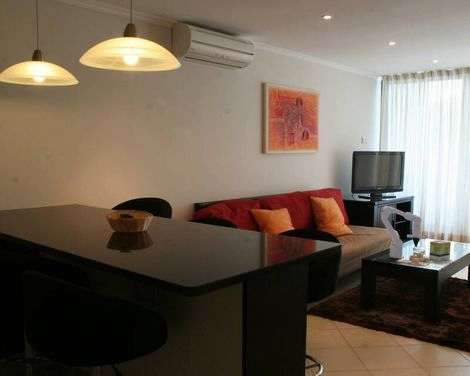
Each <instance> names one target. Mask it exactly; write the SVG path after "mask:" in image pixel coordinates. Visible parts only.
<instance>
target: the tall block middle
mask: <svg viewBox="0 0 470 376" xmlns="http://www.w3.org/2000/svg"><path fill="white" fill-rule="evenodd" d="M415 256H416V258H418V259H419V262H423V258H424V253H421V252H417V253H416V254H415Z"/></svg>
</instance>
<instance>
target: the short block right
mask: <svg viewBox="0 0 470 376" xmlns="http://www.w3.org/2000/svg"><path fill="white" fill-rule="evenodd" d="M423 263H429V264H430V263H431V259H430V258H429V257H427V256H423Z"/></svg>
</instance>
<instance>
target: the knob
mask: <svg viewBox="0 0 470 376" xmlns="http://www.w3.org/2000/svg"><path fill="white" fill-rule="evenodd" d="M412 263H419V259H418V258H413V259H412Z"/></svg>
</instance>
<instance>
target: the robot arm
mask: <svg viewBox="0 0 470 376" xmlns="http://www.w3.org/2000/svg"><path fill="white" fill-rule="evenodd" d="M380 213H381V215H380V219H381V222H382V223H383V225H384V226H385V229H386V230H387V231H388V233H389V235H390V237H391V239H392V244H393V245H391V246H390V248H389V258H394V259H403V258H404V256H403V245H404V242H403V241H402V239H400V237H399V235H398V234H397V232H396V231H395V229H394V228H393V225H392V224H391V222H390V221H389V216H390V215H391V214H397V215H400V216H402V217H404V219H405V220H408V221H411V222H412V234H407V235H406V237H407V238H412V242H413V244H414V248H417V247H418V245H419V243H420V240H421V239H422V240H426V237H427V236H424V235H421V222H422V218H421V217H420V216H418V215H417V214H414V213H412V212H411V211H409V212H408V211H406V212H404V211H402V210H399V209H397V208H395V207H391V206H388V205H384V206H383V207H382V208H381V212H380Z"/></svg>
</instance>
